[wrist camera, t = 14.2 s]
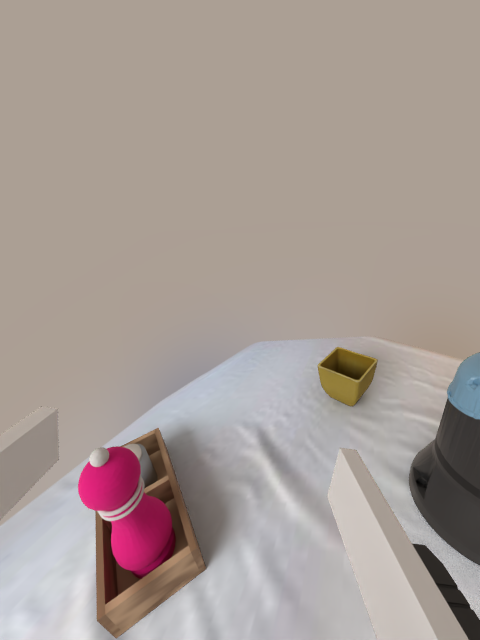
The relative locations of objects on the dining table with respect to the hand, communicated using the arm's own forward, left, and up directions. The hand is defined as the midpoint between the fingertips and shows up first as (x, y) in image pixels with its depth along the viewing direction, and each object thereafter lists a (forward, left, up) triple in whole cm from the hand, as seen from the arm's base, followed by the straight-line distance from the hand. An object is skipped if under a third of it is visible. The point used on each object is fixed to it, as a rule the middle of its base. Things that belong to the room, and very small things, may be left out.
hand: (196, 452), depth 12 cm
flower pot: (-35, -20, -32) cm, 51 cm away
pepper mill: (+8, -15, -31) cm, 35 cm away
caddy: (+8, -20, -32) cm, 38 cm away
